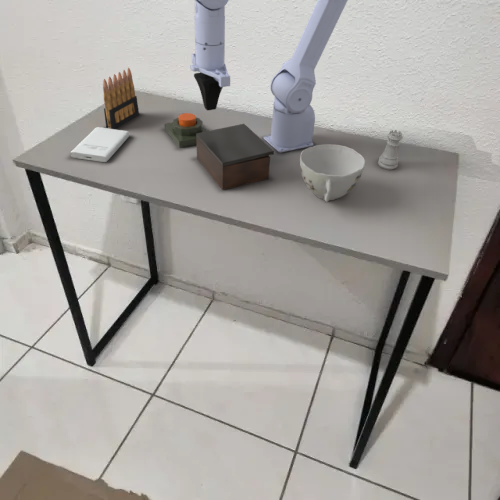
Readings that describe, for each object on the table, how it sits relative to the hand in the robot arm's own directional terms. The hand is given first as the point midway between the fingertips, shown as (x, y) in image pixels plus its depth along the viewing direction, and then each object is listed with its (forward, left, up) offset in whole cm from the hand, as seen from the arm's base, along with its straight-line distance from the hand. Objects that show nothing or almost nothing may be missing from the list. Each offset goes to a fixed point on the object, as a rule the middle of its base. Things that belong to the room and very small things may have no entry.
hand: (210, 108), depth 99 cm
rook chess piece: (-34, +20, -11) cm, 41 cm away
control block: (+2, -10, -10) cm, 14 cm away
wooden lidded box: (-1, +8, -10) cm, 13 cm away
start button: (+2, -10, -7) cm, 12 cm away
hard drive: (+22, -12, -11) cm, 27 cm away
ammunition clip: (+14, -23, -11) cm, 29 cm away
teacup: (-14, +25, -11) cm, 31 cm away
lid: (-2, +8, -5) cm, 10 cm away
